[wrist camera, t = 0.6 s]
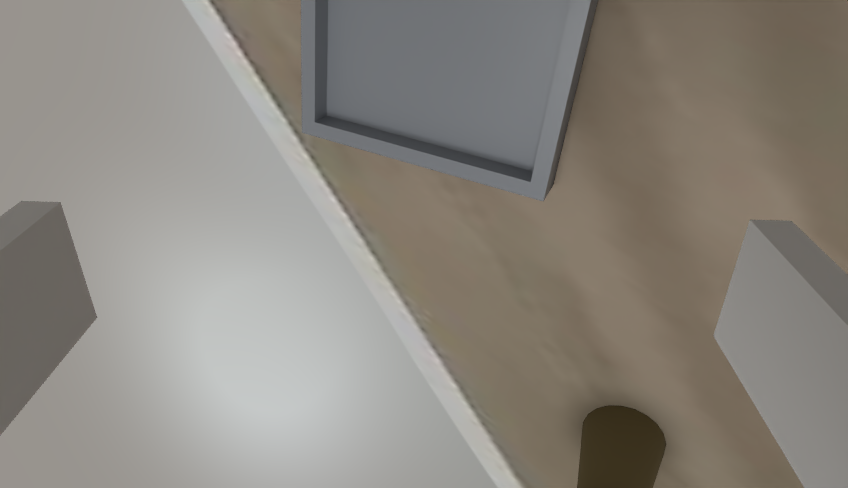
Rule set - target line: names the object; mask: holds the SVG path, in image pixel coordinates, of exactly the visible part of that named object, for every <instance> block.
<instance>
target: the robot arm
mask: <svg viewBox="0 0 848 488" xmlns="http://www.w3.org/2000/svg"><path fill="white" fill-rule="evenodd" d="M96 318H97V316H96V313H95V310H94V306H93V303H92V300H91V297H90V294H89V291H88V287H87V284H86V281H85V278H84V275H83V272H82V268H81V265H80V262H79V259H78V256H77V253H76V250H75V247H74V243H73V240H72V237H71V234H70V231H69V228H68V225H67V221H66V218H65V215H64V212H63V209H62V206H61V203H60V202H35V201H21V202H20V203H18V204H17V205H15V206H14V207H13V208H11V209H10V210H8V211H7V212H6V213H4V214H3V215H2V216H0V435H1V434H2V433H3V432H4V430H5V429H6V428H7V427H8V425H9V424H10V423H11V421H12V420H13V419H14V418H15V417H16V415H18V413H19V412H20V411H21V410H22V408H23V407H24V406H25V405H26V404H27V402H28V401H29V400H30V399H31V397H32V396H33V395H34V394H35V392H36V391H37V390H38V389H39V388H40V387H41V385H42V384H43V383H44V382H45V380H46V379H47V378H48V377H49V375H50V374H51V373H52V372H53V371H54V369H55V368H56V367H57V366H58V365H59V363H60V362H61V361H62V360H63V358H64V357H65V356H66V355H67V354H68V352H69V351H70V350H71V349H72V347H73V346H74V345H75V344H76V343H77V341H78V340H79V339H80V338H81V336H82V335H83V334H84V333H85V331H86V330H87V329H88V328H89V327H90V325H91V324H92V323H93V322H94V321H95V319H96ZM714 338H715V339H716V341H717V343H718V344H719V346H720V348H721V349H722V351H723V353H724V354H725V356H726V358H727V359H728V361H729V363H730V364H731V366H732V368H733V369H734V371H735V373H736V374H737V376H738V378H739V379H740V381H741V383H742V384H743V386H744V388H745V389H746V391H747V393H748V394H749V396H750V398H751V399H752V401H753V403H754V404H755V406H756V408H757V409H758V411H759V413H760V414H761V416H762V418H763V419H764V421H765V423H766V425H767V426H768V428H769V430H770V431H771V433H772V435H773V436H774V438H775V440H776V441H777V443H778V445H779V446H780V448H781V450H782V451H783V453H784V455H785V456H786V458H787V460H788V461H789V463H790V465H791V466H792V468H793V470H794V471H795V473H796V475H797V476H798V478H799V480H800V481H801V483H802V485H803V486H804V488H848V275H847V274H846V273H845V272H844V271H843V270H842V269H841V268H840V267H839V266H838V265H837V264H836V263H835V262H834V261H833V260H832V259H831V258H830V257H829V256H828V255H826V254H825V253H824V252H823V251H822V250H821V249H820V248H819V247H818V246H817V245H816V244H815V243H814V242H813V241H812V240H811V239H810V238H809V237H808V236H807V235H806V234H805V233H804V232H802V231H801V230H800V229H799V228H798V227H797V226H796V225H795V224H794V223H793V222H792V221H780V220H750V221H749V224H748V228H747V231H746V234H745V237H744V240H743V244H742V247H741V250H740V253H739V256H738V259H737V263H736V266H735V269H734V272H733V275H732V278H731V282H730V285H729V288H728V291H727V294H726V298H725V301H724V304H723V307H722V310H721V313H720V317H719V320H718V323H717V326H716V329H715V332H714Z"/></svg>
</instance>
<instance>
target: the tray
mask: <svg viewBox="0 0 848 488" xmlns="http://www.w3.org/2000/svg"><path fill="white" fill-rule="evenodd" d="M597 2H598V0H301V68H302V133H305V134H309V135H312V136H316V137H319V138H323V139H326V140H330V141H333V142H337V143H340V144H344V145H347V146H351V147H354V148H358V149H361V150H365V151H368V152H372V153H375V154H379V155H382V156H386V157H389V158H393V159H396V160H400V161H403V162H407V163H411V164H414V165H418V166H421V167H425V168H428V169H432V170H435V171H439V172H442V173H446V174H449V175H453V176H456V177H460V178H463V179H467V180H470V181H474V182H477V183H481V184H484V185H488V186H491V187H495V188H498V189H502V190H505V191H509V192H512V193H516V194H519V195H523V196H526V197H530V198H533V199H537V200H540V201H544V199H545V198H546V196H547V194H548V193H549V191H550V189H551V188H552V186H553V183H554V179H555V175H556V171H557V167H558V163H559V159H560V154H561V150H562V146H563V142H564V138H565V134H566V130H567V126H568V121H569V117H570V113H571V109H572V105H573V101H574V97H575V92H576V88H577V84H578V80H579V76H580V72H581V68H582V64H583V59H584V55H585V51H586V47H587V43H588V39H589V35H590V31H591V26H592V22H593V18H594V14H595V10H596V6H597Z"/></svg>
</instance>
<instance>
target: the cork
mask: <svg viewBox="0 0 848 488" xmlns="http://www.w3.org/2000/svg"><path fill="white" fill-rule="evenodd" d="M665 446H666V442H665V438H664V434H663V432H662V431H661V429H660V428H659V426H658V425H657V424H656V423H655V422H654V421H653V420H652V419H650V418H649V417H648V416H647V415H645V414H643V413H641V412H639V411H637V410H635V409H631V408H627V407H623V406H605V407H601V408H597V409H595V410H594V411H592V412H591V413H589V414H588V415H587V417H586V419H585V420H584V422H583V429H582V440H581V451H580V462H579V473H578V485H577V488H653V485H654V482H655V479H656V476H657V473H658V470H659V467H660V464H661V461H662V458H663V455H664V451H665Z"/></svg>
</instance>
